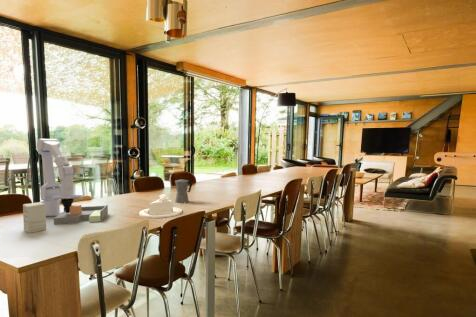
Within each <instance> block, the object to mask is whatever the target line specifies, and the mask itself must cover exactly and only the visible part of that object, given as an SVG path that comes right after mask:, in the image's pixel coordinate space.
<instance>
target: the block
mask: <svg viewBox="0 0 476 317" xmlns="http://www.w3.org/2000/svg"><path fill="white" fill-rule="evenodd" d="M81 207H82V204H72V205H71V206H70V215H79V214H80V213H82V212H81Z"/></svg>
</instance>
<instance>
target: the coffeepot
mask: <svg viewBox="0 0 476 317" xmlns="http://www.w3.org/2000/svg"><path fill="white" fill-rule="evenodd" d="M174 183H175V189H176V196H175V203H176V202H177V203H176V204H185V203H184V202H187V203H188V202H189V196H188V193H190V192H191V189H192V187H193V186H192V185H193V182H192V181H191V180H188V179H184V176H180V179H177V180H176V179H175V180H174Z"/></svg>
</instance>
